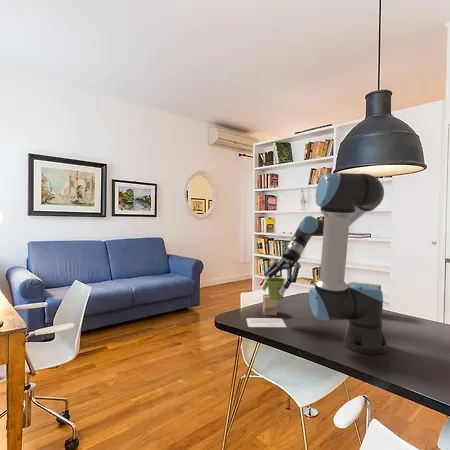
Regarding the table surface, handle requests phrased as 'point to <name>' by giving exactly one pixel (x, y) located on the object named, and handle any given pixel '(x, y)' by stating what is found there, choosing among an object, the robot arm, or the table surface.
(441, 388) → the table surface
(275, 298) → the plant pot
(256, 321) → the letter
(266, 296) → the oak block
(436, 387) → the table surface
